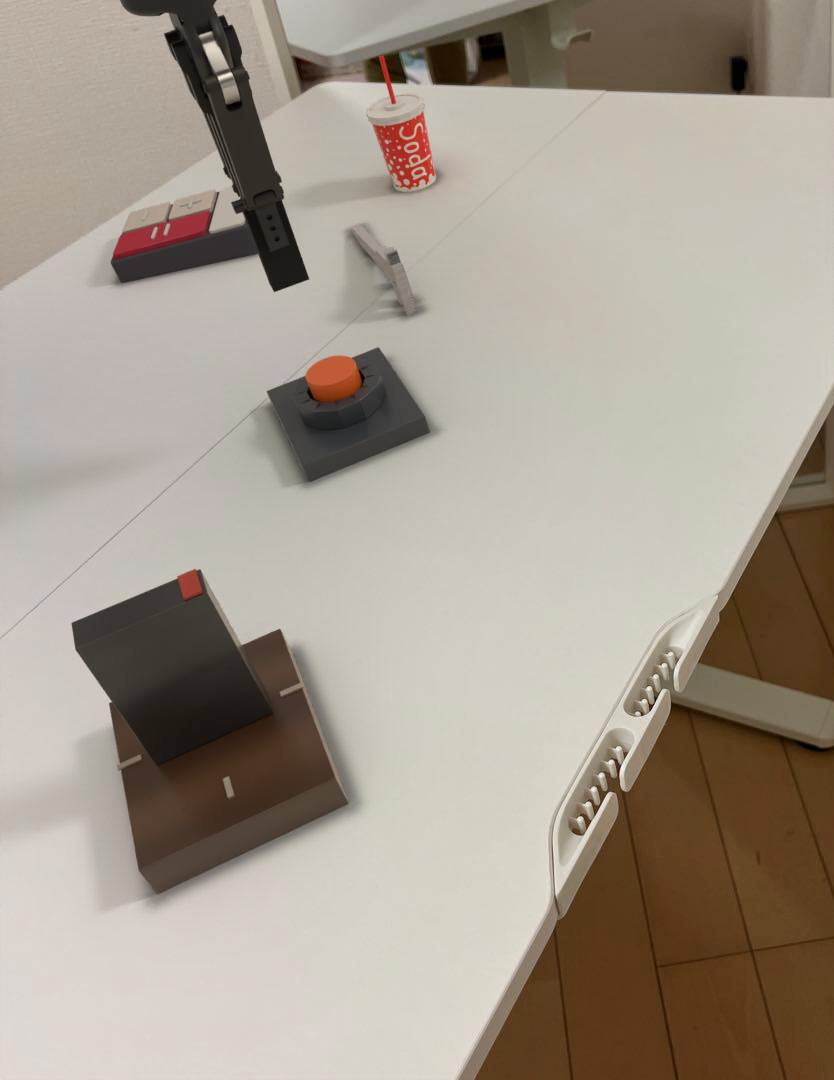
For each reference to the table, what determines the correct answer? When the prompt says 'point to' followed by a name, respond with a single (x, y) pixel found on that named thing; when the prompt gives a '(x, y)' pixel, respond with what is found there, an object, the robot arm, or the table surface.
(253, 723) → the panel
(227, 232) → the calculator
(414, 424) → the button block
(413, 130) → the beverage cup
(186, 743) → the red-tabbed grey box
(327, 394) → the button
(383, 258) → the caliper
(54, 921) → the table surface
